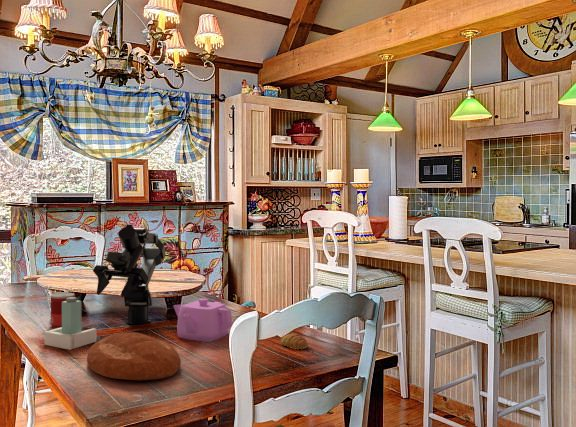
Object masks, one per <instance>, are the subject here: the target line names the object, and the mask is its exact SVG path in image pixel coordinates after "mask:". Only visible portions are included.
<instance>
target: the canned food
mask: <svg viewBox="0 0 576 427" xmlns="http://www.w3.org/2000/svg"><path fill="white" fill-rule="evenodd" d="M70 297H76V296H75V293H73V292H68V293H55V292H54V293H53V294H50V326H51V328H53V327H54V329H57V328H60V327H62V302H64V301H66V298H70Z"/></svg>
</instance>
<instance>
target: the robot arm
mask: <svg viewBox="0 0 576 427" xmlns="http://www.w3.org/2000/svg"><path fill="white" fill-rule="evenodd" d="M118 239H119V241H120V243H121V246H122V248H123V249H124V250H123V251H122V252H118V251H108V253H107V255H106V259H105V262H106V263H110V266H111V268H113V269H110V268H109V267H108V266H107V265H103V264H102V265H101V264H97V265H95V266H94V268H93V269H92V273H94V274H95V276H96V277H97V286H96V294H97V296H98V295H99V296H100V295H101V294H102V292H104V290H105V289H106V288H107V286H108V285H109V284H110V282H111V280H112V278H113V277H118V278H127V281H126V282H125V284H124V286H123V288H122V290H121V293H120V297H121V298H123V300H124V306H125V307H128V310H127V320H125V323H126V324H131V325H134V326H138V325H139V326H140V325H143V324H148V323H152V320H150V319H149V307H152V306H153V297H152V294H151V290H150V288H149V284H150V282H151V279H152V276H153V275H154V271H155V268H157V266H159V265H161V264H162V263H163V262H164V259H165V258H166V250H165V245H164V243H163V242H162V241H161V240H160V239H159V236H158V233H155V232H154V233H151V232H149V229H147V227H134V226H133V224H128V223H127V224H126V225H125V226H124V227H123V228H120V230H119V231H118ZM148 244H151V245H152V244H154V245H155V246H146V245H148ZM141 256H142V258H143V263H142V266H141V267H138V266H139V264H138V261H139V259H140V257H141Z"/></svg>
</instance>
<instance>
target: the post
mask: <svg viewBox="0 0 576 427" xmlns="http://www.w3.org/2000/svg"><path fill="white" fill-rule="evenodd" d="M78 332H82V300H78V298H77V297H76V296H75V297H70V298H66V301H64V302H62V333H64V334H69V335H71V334H75V333H78Z"/></svg>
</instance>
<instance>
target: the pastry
mask: <svg viewBox="0 0 576 427" xmlns="http://www.w3.org/2000/svg"><path fill="white" fill-rule="evenodd" d="M290 332H291V331H290ZM280 343H281V345H282V346H284V347H285V346H288V347H292V348H296V349H297V350H299V349H301V350H303V349H307V348H308V346H309V343H308V341H307V340H306V338H305V337H303V336H302V335H301V334H298V333H294V332H291V333H289V334H288V335H286V336H284V337H282V336H281V337H280ZM296 349H295V350H296Z"/></svg>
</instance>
